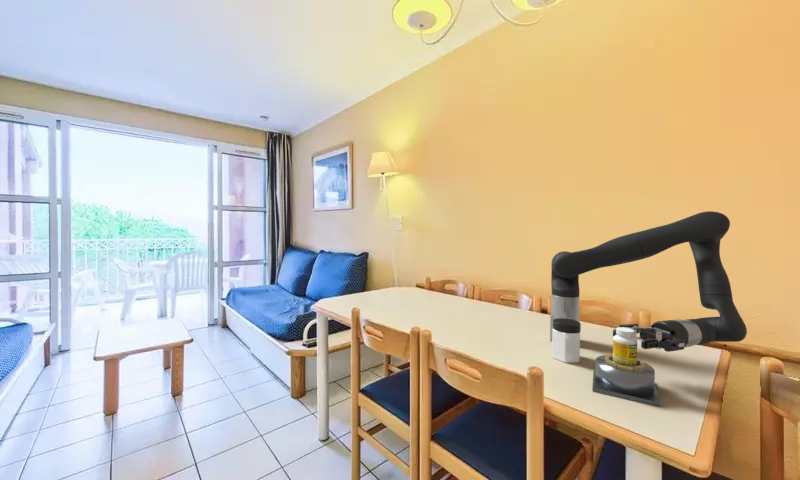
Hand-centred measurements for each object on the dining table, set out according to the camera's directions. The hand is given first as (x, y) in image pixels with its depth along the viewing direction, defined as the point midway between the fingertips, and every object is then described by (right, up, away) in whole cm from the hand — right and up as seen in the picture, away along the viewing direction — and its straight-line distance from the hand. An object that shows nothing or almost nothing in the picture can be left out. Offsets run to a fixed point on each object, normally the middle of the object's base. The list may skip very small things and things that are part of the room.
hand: (627, 338), depth 87 cm
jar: (-7, -12, +19) cm, 24 cm away
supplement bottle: (-1, -7, 0) cm, 7 cm away
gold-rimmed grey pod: (-1, -13, 0) cm, 13 cm away
